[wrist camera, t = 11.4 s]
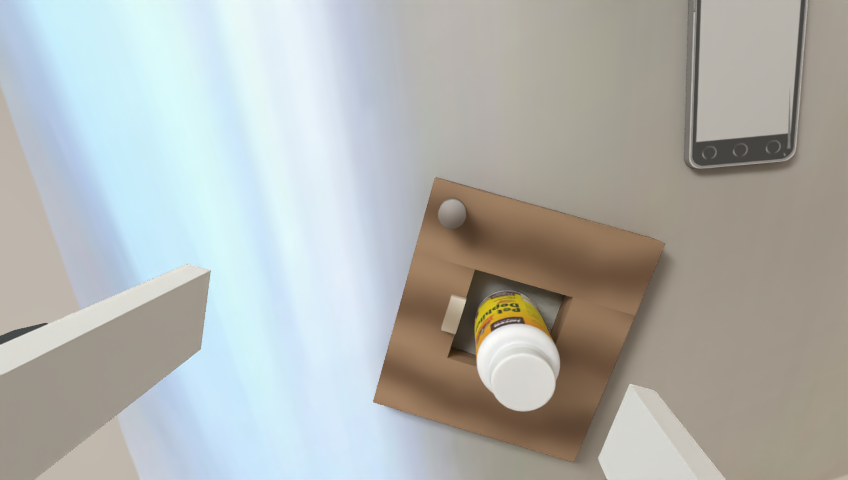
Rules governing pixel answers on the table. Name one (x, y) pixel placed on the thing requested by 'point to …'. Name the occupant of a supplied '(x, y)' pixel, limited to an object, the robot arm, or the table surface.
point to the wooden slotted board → (530, 264)
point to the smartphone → (743, 81)
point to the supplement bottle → (515, 351)
